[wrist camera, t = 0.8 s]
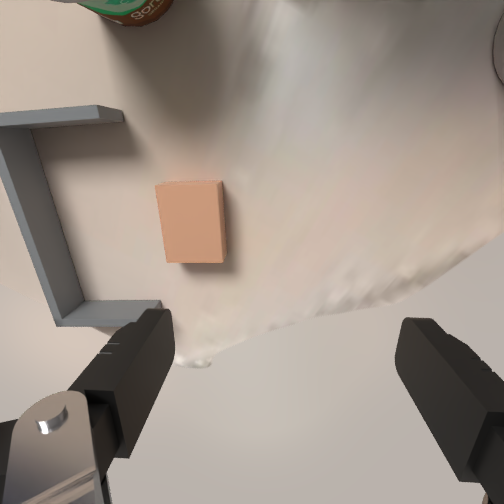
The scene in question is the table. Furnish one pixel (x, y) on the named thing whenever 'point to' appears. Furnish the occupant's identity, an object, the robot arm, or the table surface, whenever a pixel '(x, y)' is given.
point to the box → (54, 217)
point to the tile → (192, 221)
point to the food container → (126, 10)
